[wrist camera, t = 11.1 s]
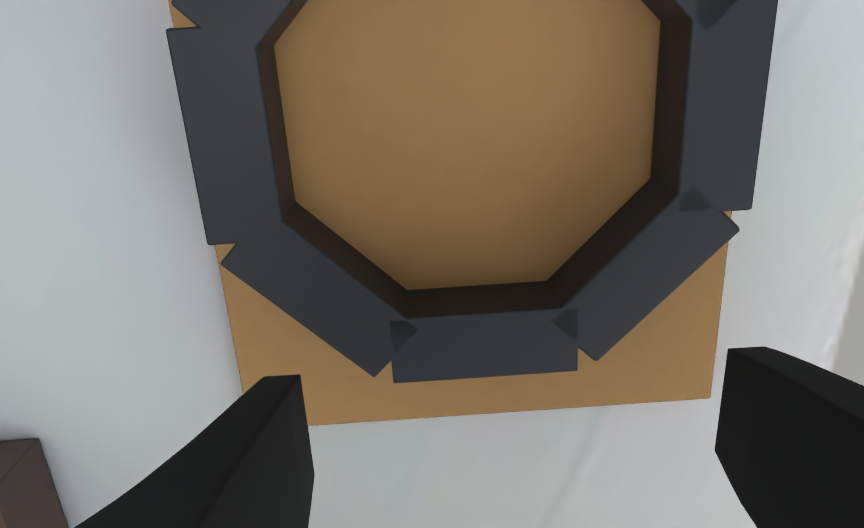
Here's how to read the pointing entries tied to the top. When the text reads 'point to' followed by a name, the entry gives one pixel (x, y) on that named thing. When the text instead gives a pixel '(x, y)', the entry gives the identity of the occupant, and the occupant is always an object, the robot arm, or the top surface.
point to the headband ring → (482, 304)
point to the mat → (472, 187)
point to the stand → (27, 488)
